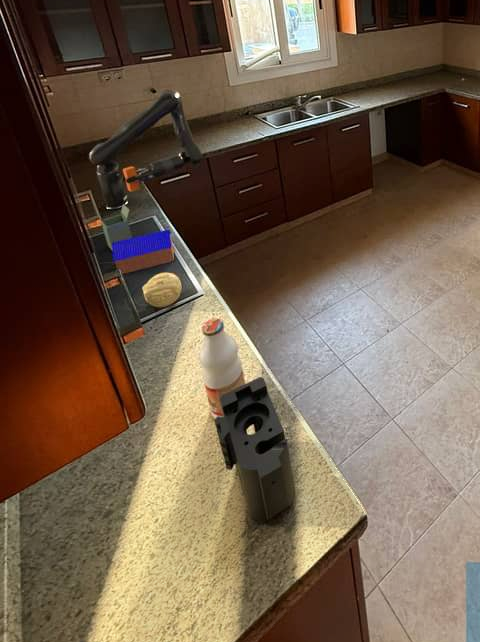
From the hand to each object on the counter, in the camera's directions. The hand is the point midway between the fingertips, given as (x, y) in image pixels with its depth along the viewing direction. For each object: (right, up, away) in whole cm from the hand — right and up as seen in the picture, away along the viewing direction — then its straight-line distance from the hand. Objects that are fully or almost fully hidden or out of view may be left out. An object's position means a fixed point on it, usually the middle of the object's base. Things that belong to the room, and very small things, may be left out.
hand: (124, 180), depth 197 cm
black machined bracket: (+95, -62, -100) cm, 152 cm away
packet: (+2, -5, +4) cm, 7 cm away
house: (+23, -32, -21) cm, 44 cm away
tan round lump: (+43, -40, -43) cm, 73 cm away
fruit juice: (+81, -55, -82) cm, 127 cm away
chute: (+5, -28, -11) cm, 30 cm away
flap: (+8, -12, -13) cm, 20 cm away
